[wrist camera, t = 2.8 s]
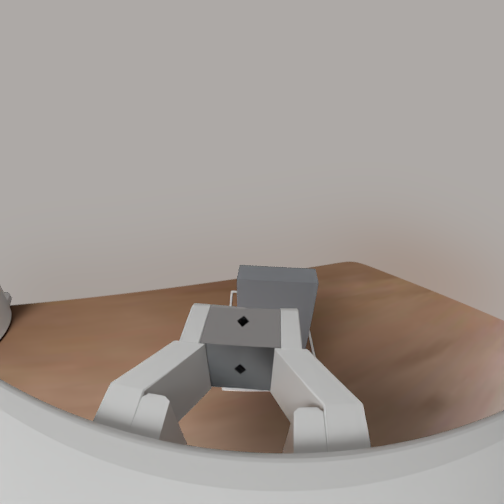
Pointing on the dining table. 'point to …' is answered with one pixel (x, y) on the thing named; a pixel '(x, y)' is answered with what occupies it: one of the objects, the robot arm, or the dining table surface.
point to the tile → (279, 291)
